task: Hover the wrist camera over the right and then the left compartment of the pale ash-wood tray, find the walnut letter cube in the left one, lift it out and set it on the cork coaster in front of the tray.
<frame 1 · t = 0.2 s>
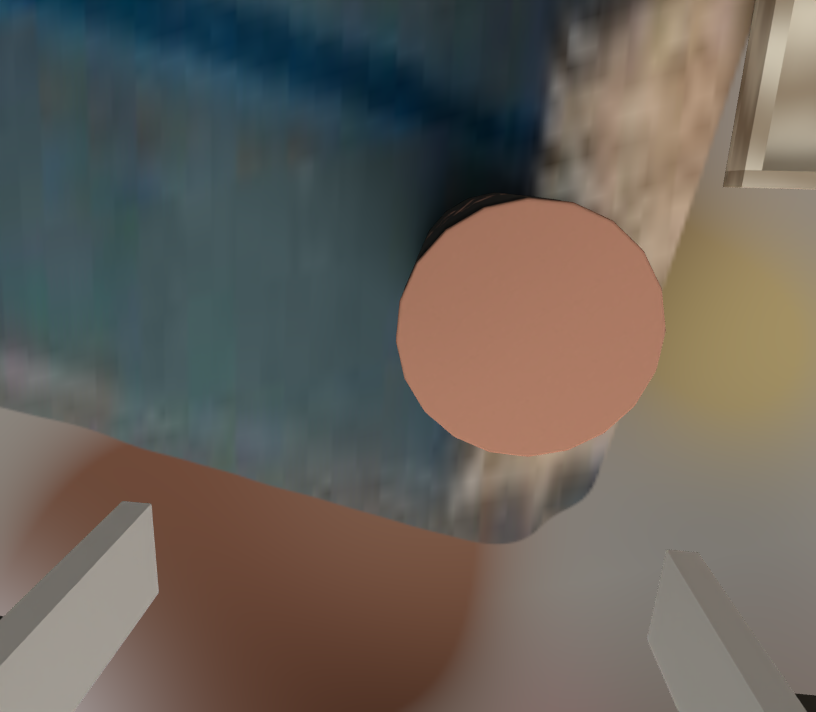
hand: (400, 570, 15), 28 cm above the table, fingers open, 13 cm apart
coffee jar: (493, 271, 40), on the table
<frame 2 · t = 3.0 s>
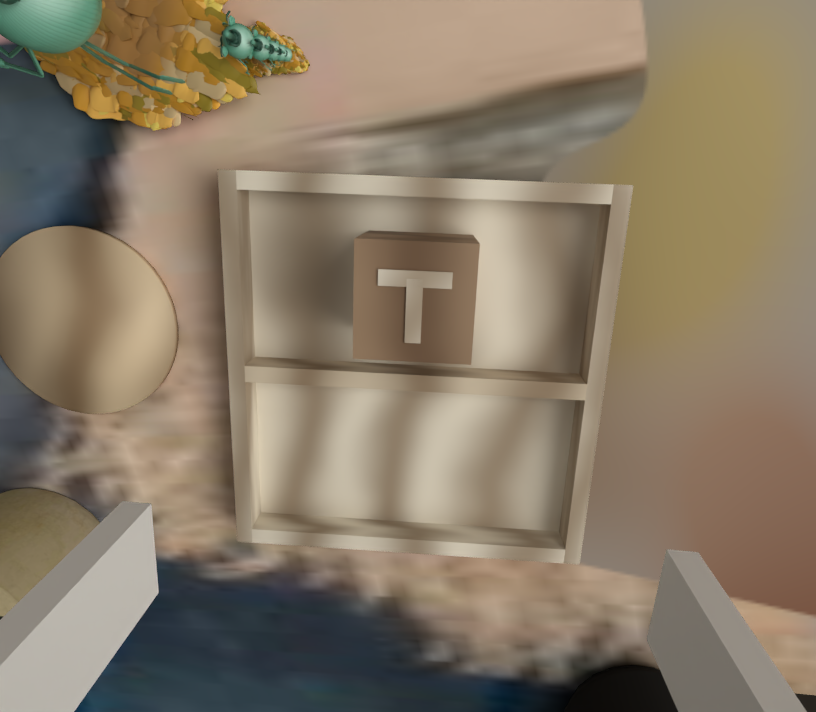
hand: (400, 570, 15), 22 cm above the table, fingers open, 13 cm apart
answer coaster: (85, 322, 36), on the table
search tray: (415, 370, 36), on the table
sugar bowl: (21, 545, 41), on the table
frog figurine: (151, 46, 32), on the table
letter cube: (418, 284, 34), resting on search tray
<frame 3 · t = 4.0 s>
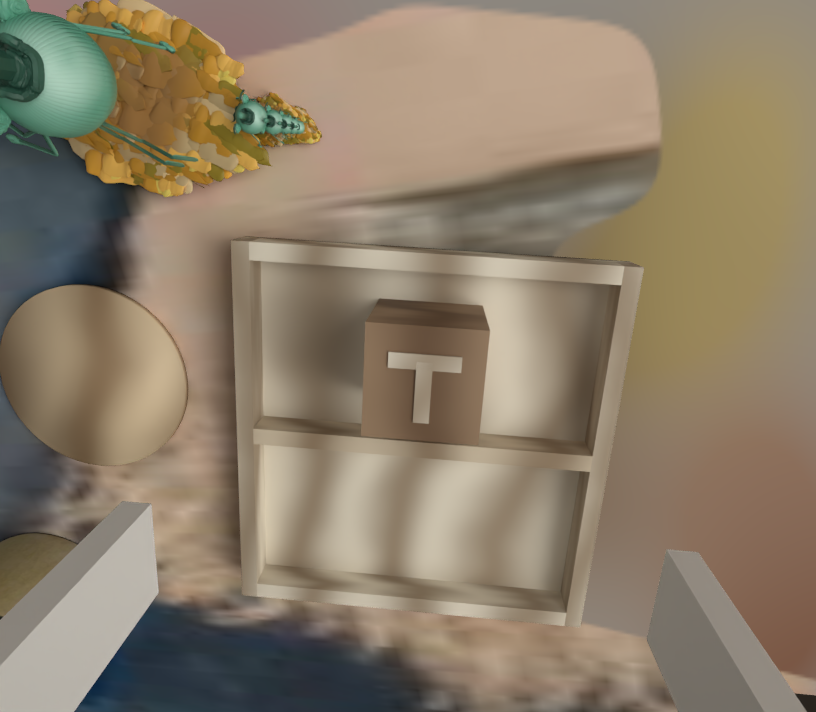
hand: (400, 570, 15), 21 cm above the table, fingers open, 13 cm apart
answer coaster: (96, 377, 36), on the table
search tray: (421, 432, 36), on the table
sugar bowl: (29, 587, 42), on the table
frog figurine: (164, 112, 32), on the table
letter cube: (427, 351, 34), resting on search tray
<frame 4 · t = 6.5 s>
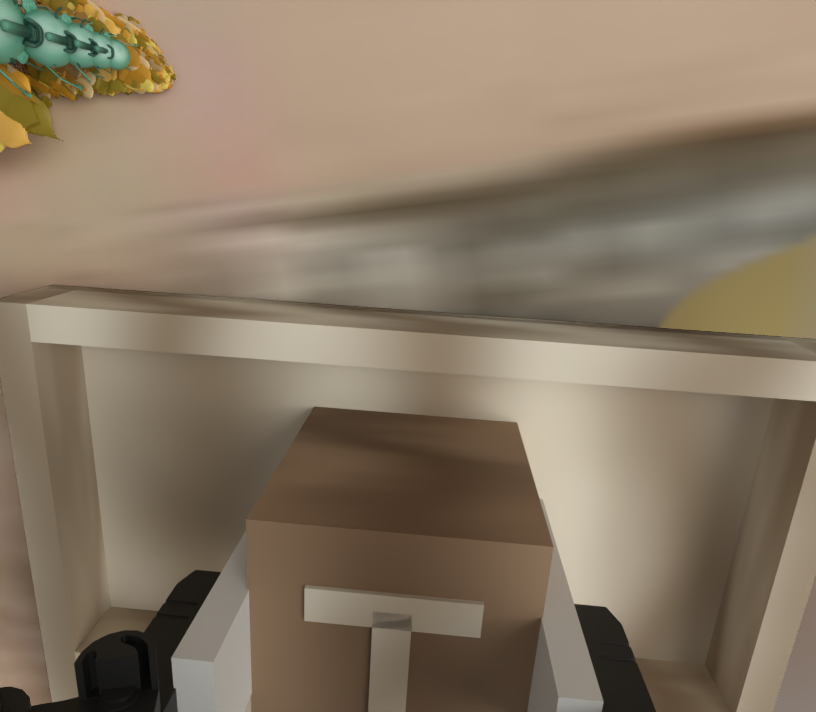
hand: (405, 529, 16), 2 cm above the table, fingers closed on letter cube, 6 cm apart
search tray: (400, 635, 20), on the table
letter cube: (408, 503, 18), point 1 cm above the table, touching gripper, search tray
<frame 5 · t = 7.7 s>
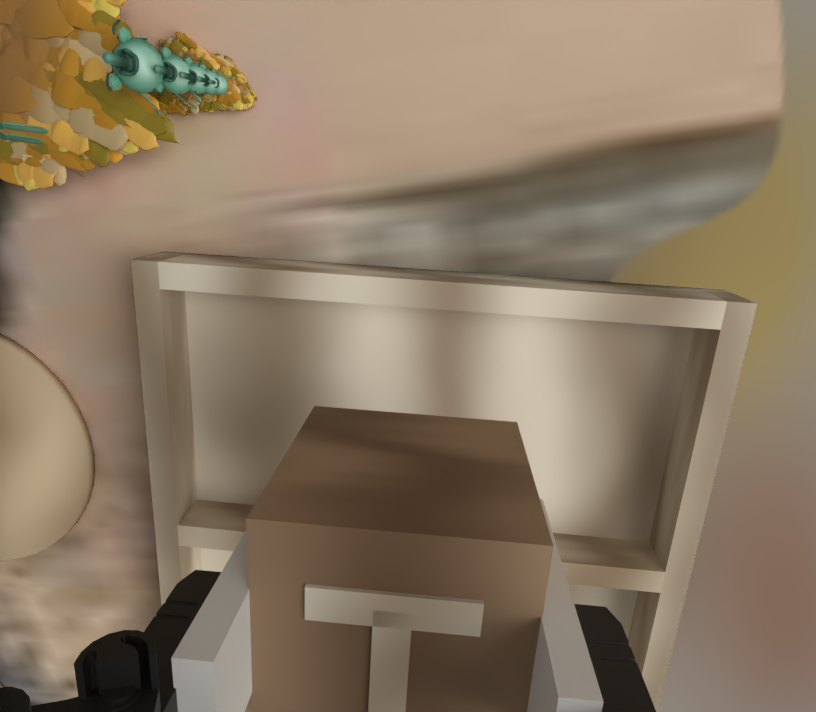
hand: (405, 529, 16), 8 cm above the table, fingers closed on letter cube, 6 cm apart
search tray: (418, 523, 26), on the table
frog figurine: (28, 65, 22), on the table
letter cube: (409, 503, 18), point 7 cm above the table, touching gripper
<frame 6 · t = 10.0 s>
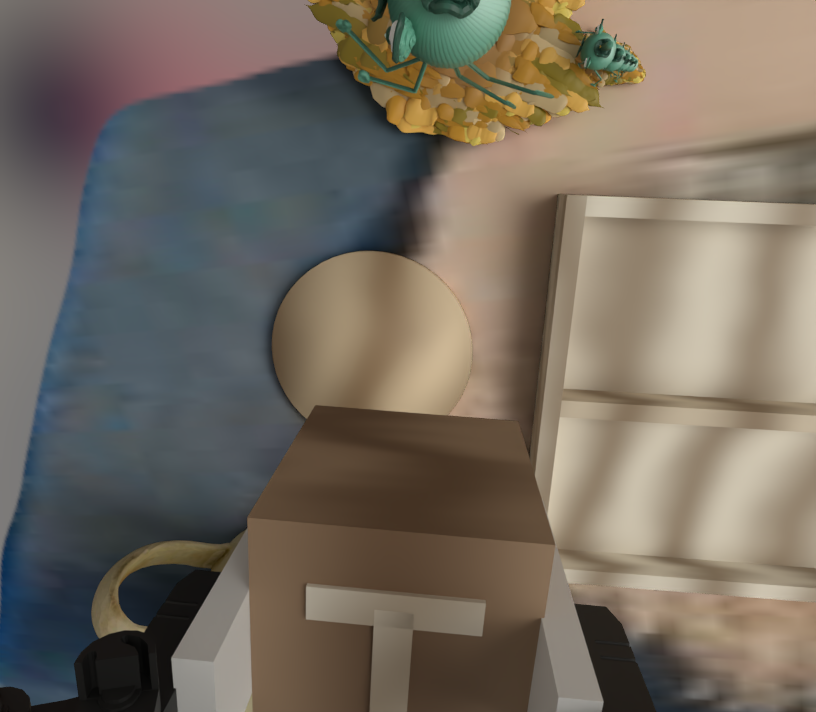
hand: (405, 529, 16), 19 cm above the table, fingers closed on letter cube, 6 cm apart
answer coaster: (372, 351, 34), on the table
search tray: (723, 403, 34), on the table
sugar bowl: (269, 576, 40), on the table
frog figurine: (468, 55, 30), on the table
letter cube: (410, 502, 18), point 17 cm above the table, touching gripper
when the fingers open (3 cm above the table, at t = 13.6 s): letter cube drops 1 cm, resting on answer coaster.
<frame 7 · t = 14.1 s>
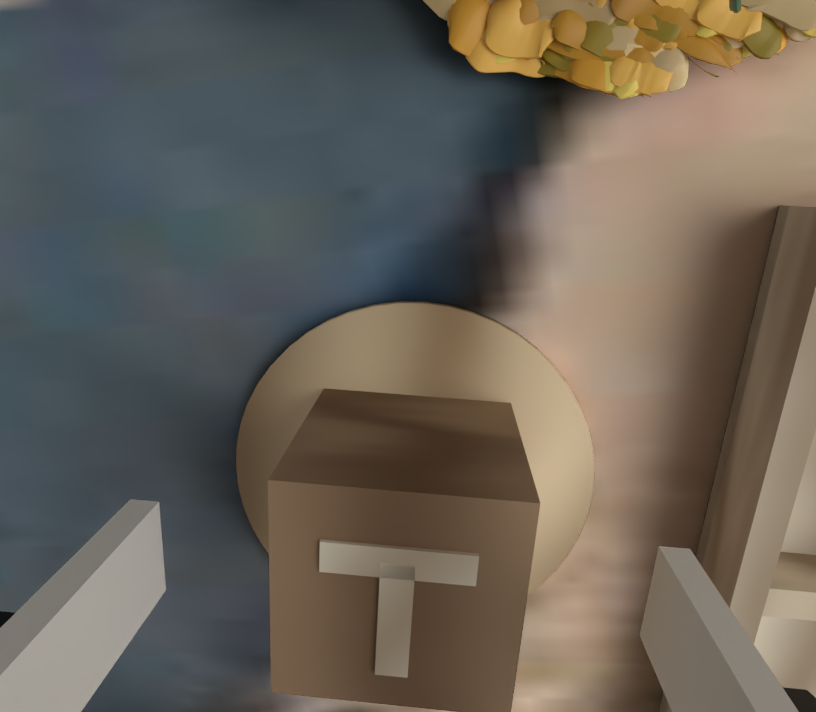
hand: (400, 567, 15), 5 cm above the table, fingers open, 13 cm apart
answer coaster: (412, 472, 20), on the table
letter cube: (411, 479, 19), resting on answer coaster
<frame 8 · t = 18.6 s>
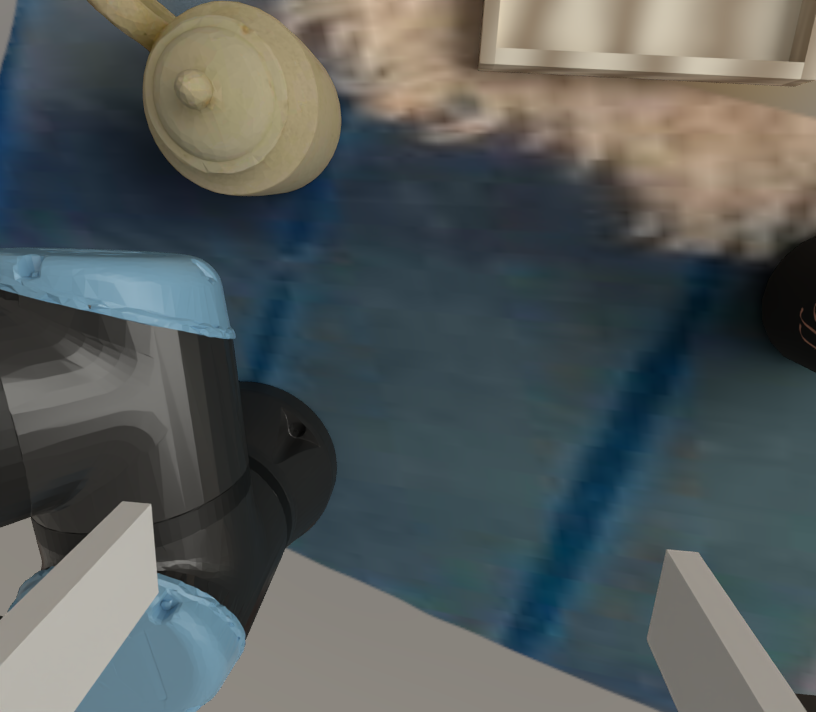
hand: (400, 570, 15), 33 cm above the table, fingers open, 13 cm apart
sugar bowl: (246, 111, 43), on the table
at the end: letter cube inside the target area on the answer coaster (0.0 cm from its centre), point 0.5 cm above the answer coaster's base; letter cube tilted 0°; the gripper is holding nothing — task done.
